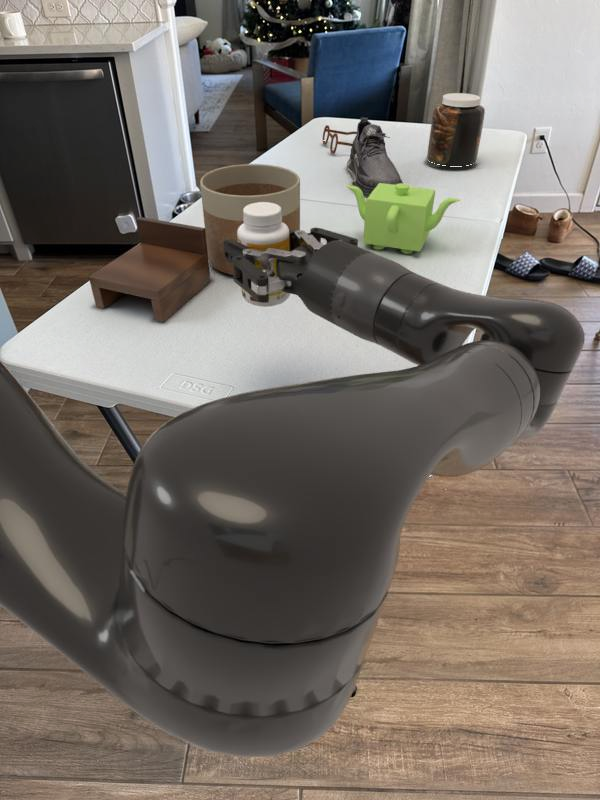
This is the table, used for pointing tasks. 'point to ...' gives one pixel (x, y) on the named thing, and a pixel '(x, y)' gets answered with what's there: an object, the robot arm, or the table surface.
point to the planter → (244, 202)
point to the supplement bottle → (264, 240)
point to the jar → (456, 132)
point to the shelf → (157, 268)
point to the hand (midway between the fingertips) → (249, 240)
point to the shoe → (371, 159)
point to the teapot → (399, 215)
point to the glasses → (336, 138)
